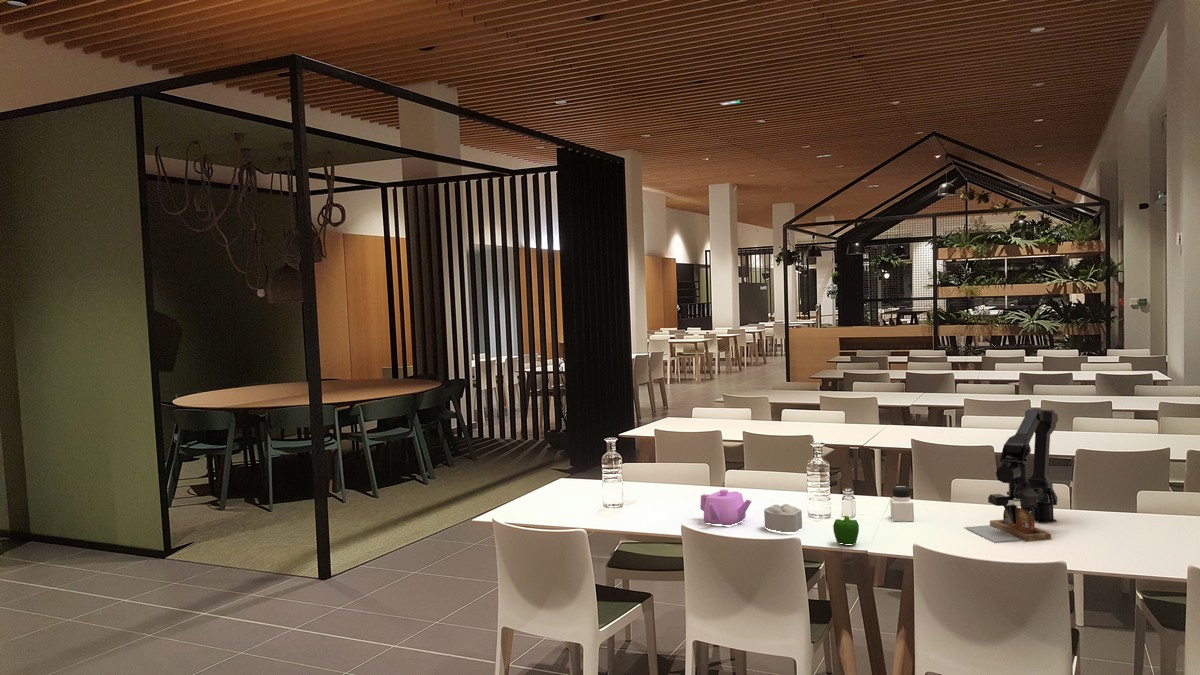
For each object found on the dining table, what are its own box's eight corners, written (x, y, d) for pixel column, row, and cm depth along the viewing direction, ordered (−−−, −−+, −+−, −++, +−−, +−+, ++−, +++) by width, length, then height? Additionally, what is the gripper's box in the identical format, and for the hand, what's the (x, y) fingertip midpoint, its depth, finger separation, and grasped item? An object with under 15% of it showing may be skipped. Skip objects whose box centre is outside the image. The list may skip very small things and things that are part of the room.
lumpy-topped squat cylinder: (793, 535, 298) (792, 511, 298) (759, 531, 306) (758, 507, 306) (805, 528, 306) (804, 504, 306) (771, 524, 314) (770, 501, 314)
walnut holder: (1014, 523, 299) (1014, 518, 299) (1051, 539, 278) (1051, 534, 278) (990, 525, 298) (989, 520, 298) (1025, 541, 277) (1025, 536, 277)
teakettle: (738, 515, 331) (737, 483, 331) (754, 525, 314) (752, 492, 314) (696, 519, 328) (695, 487, 328) (710, 530, 311) (708, 496, 311)
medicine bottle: (914, 521, 308) (912, 489, 308) (893, 521, 309) (892, 489, 309) (910, 516, 315) (909, 484, 315) (890, 516, 316) (889, 485, 316)
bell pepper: (835, 539, 290) (834, 510, 290) (860, 541, 287) (859, 512, 287) (832, 546, 282) (831, 516, 282) (857, 548, 279) (856, 518, 279)
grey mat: (988, 526, 297) (988, 525, 297) (1020, 540, 278) (1020, 539, 278) (964, 528, 296) (964, 527, 296) (994, 542, 277) (994, 541, 277)
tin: (1002, 527, 295) (1001, 503, 295) (1011, 526, 295) (1010, 502, 295) (1028, 538, 280) (1027, 513, 280) (1037, 538, 280) (1036, 512, 280)
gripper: (1004, 484, 278) (1006, 531, 279) (1058, 480, 280) (1060, 527, 280) (986, 478, 289) (988, 523, 290) (1038, 474, 291) (1039, 519, 292)
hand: (1019, 523), depth 288 cm, fingers open, 3 cm apart
